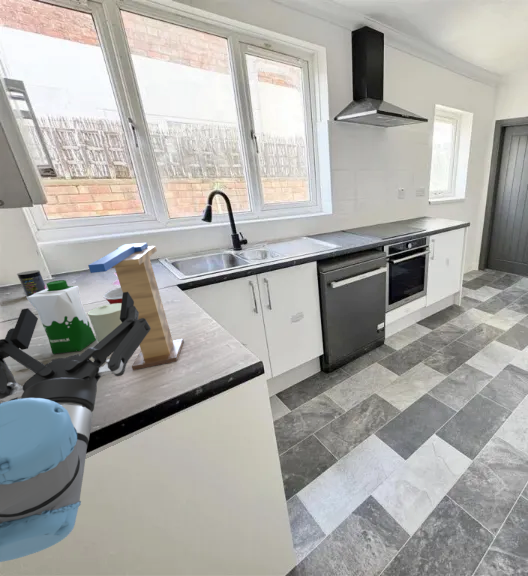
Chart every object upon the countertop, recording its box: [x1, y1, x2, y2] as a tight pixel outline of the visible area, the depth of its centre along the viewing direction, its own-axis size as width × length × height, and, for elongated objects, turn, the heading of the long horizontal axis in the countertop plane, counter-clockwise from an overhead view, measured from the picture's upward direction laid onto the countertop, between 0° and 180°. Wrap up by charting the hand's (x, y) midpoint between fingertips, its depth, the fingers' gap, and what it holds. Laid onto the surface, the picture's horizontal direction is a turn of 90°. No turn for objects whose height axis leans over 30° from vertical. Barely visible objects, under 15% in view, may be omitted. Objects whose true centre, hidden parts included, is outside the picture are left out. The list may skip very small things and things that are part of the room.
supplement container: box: [16, 269, 48, 297], centre depth 136 cm, size 7×7×10 cm
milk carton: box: [26, 279, 97, 355], centre depth 90 cm, size 9×9×20 cm
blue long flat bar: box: [87, 242, 149, 274], centre depth 72 cm, size 26×5×2 cm, turn 24°
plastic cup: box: [102, 286, 123, 304], centre depth 107 cm, size 11×11×12 cm
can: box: [87, 303, 122, 343], centre depth 93 cm, size 9×9×12 cm
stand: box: [111, 245, 185, 371], centre depth 82 cm, size 17×10×30 cm, turn 24°
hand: (81, 304), depth 55 cm, fingers open, 13 cm apart
